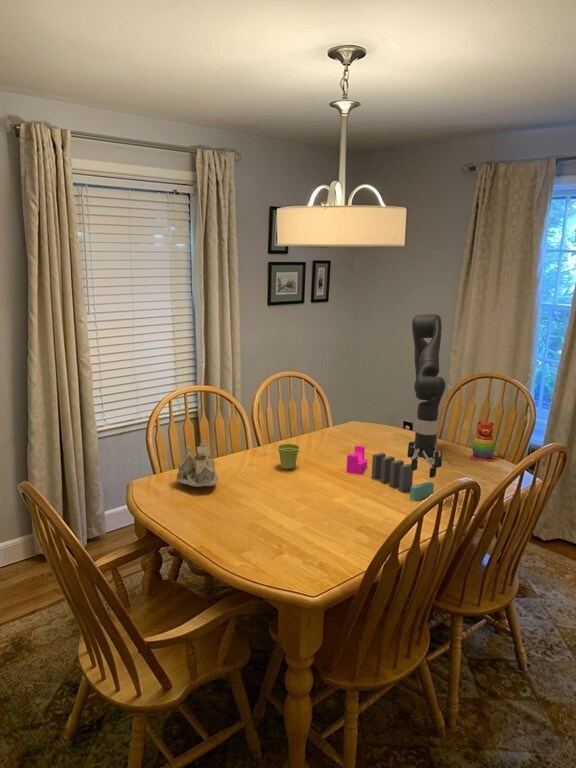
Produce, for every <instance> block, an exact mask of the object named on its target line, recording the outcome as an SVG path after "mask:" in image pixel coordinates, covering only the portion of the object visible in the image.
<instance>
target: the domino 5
mask: <svg viewBox="0 0 576 768" xmlns="http://www.w3.org/2000/svg"><path fill="white" fill-rule="evenodd" d="M434 487H435V483H434V482H432V481H426V482H423V483H420V484H418V483H417V484H415V485H412V486H411V489H410V491H409V492H410V493H409V500H411V501H412V502H415V501H419V500H422V499H427V498H429V497H428V496H430V495H431V494H433V495H434V489H435V488H434ZM430 497H431V496H430Z"/></svg>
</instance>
